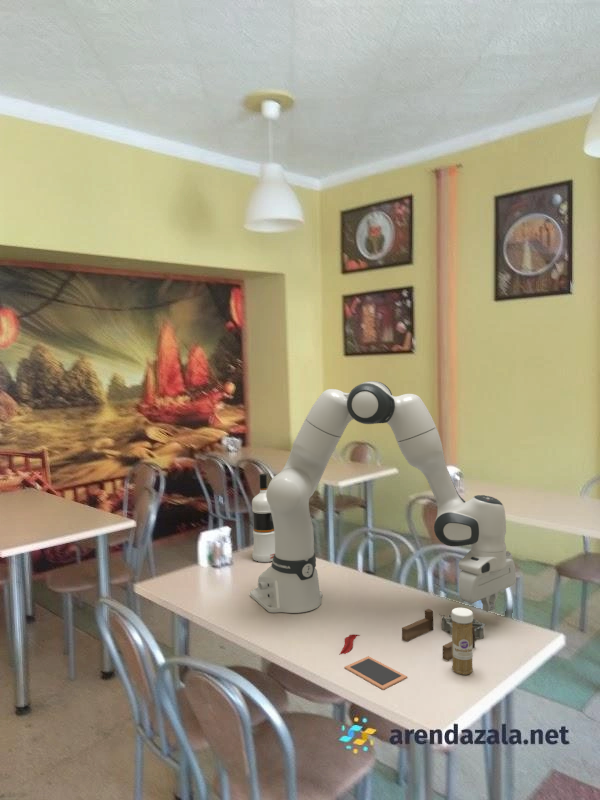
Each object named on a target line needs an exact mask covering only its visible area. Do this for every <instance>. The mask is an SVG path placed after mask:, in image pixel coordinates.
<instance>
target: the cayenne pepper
mask: <svg viewBox="0 0 600 800" xmlns="http://www.w3.org/2000/svg"><path fill="white" fill-rule="evenodd" d="M360 636H361V634H349V635H348V636H346V637H345V638H344V645H343V647H342V649H341V651H340V653H339V654H338V655H346V653H347V654H348V653H350V652H351V651H352V650H353V647H354V642H355V641H354V640H355V639H357V637H360Z"/></svg>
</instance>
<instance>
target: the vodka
mask: <svg viewBox="0 0 600 800" xmlns="http://www.w3.org/2000/svg"><path fill="white" fill-rule="evenodd" d="M267 489H268V475H267V474H266V473H260V474H259V493H257V494H256V495H255V496H254V497H253V498H252V500H251V507H252V509H251V510H252V526H253V529H252V534H253V547H252V554H251V557H252V559H253V560H254V561H255V562H257V561H258V563H272V562H271V561H273V558H271V559H270V557H272V556H274V555H272V554H275V534H274V524H273V519H272V514H271V509H270V505H269V503H268V501H267V497H266V493H267ZM270 555H272V556H270Z"/></svg>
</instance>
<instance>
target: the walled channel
mask: <svg viewBox="0 0 600 800" xmlns="http://www.w3.org/2000/svg"><path fill="white" fill-rule="evenodd" d="M431 631H434V610H432V609H430V608H427V609H425V610H424V618H422V619H419V620H417V621H414V622H411V623H409V624H407V625H405V626H402V627H401V639H402V641H404V642H408V641H412V640H414V639H416V638H418V637H421V636H422V635H425V634H428V633H429V632H431ZM472 634H473V649H474V648H475V647H476V645H475V644H476V642H475V641H476V638H475V627H474V626H472ZM442 659H443V660H445V661H447V662H448V661H451V660H453V655H452V641H450V642H448V643H445V644H444V645H442Z"/></svg>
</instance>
